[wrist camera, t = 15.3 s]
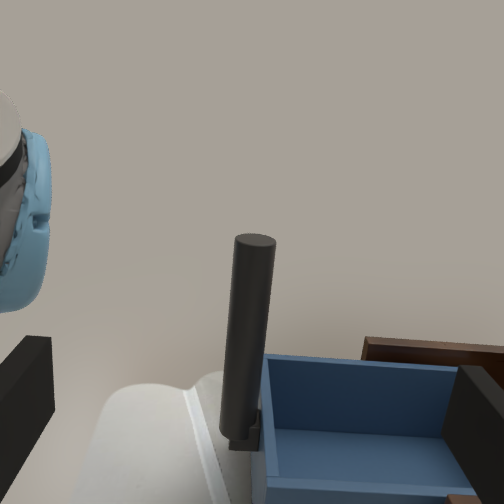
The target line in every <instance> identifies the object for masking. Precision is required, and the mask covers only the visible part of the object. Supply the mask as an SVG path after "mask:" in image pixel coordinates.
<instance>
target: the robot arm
mask: <svg viewBox="0 0 504 504" xmlns="http://www.w3.org/2000/svg"><path fill="white" fill-rule="evenodd" d="M51 187H52V185H51V163H50V155H49V149H48V146H47V143H46V140H45V139H44V138H43V137H42V136H41V135H39V134H37V133H33V132H30V131H28V130H26V129H23V128H21V121H20V116H19V113H18V111H17V109H16V107H15V105H14V103H13V102H12V101H11V100H10V98H9V97H8V96H7V95H6V94H5V93H4V92H3V91H2V90H0V313H5V312H12V311H17V310H20V309H22V308H24V307H26V306H27V305H29V304H30V303H31V302H32V301H33V300H34V299H35V298H36V296H37V295H38V293H39V291H40V289H41V286H42V283H43V279H44V275H45V270H46V264H47V256H48V248H49V236H50V235H49V234H50V229H49V223H48V221H49V219H50V209H51V198H52V197H51V196H52V191H51V190H52V189H51ZM54 412H55V400H54V381H53V362H52V342H51V337H42V336H28V335H27V336H25V337H24V338H23V340H22V341H21V342H20V343H19V344H18V345H17V346H16V347H15V349H14V350H13V351H12V352H11V353H10V354H9V355H8V356H7V357H6V358H5V360H4V361H3V362H2V363H1V364H0V503H1V501H2V500H3V498H4V496H5V494H6V493H7V491H8V489H9V488H10V486H11V484H12V483H13V481H14V479H15V478H16V476H17V474H18V473H19V471H20V469H21V468H22V466H23V464H24V462H25V461H26V459H27V457H28V456H29V454H30V452H31V450H32V449H33V447H34V445H35V444H36V442H37V440H38V439H39V437H40V435H41V433H42V432H43V430H44V428H45V427H46V425H47V423H48V422H49V420H50V418H51V417H52V415H53V413H54ZM440 434H441V436H442V437H443V439H444V441H445V442H446V444H447V446H448V447H449V449H450V451H451V452H452V454H453V456H454V457H455V459H456V461H457V462H458V464H459V466H460V467H461V469H462V471H463V472H464V474H465V476H466V478H467V479H468V481H469V483H470V484H471V486H472V488H473V489H474V491H475V493H476V494H477V496H478V498H479V499H480V501H481V503H482V504H504V391H503V390H502V388H501V387H500V386H499V385H498V384H497V383H496V382H495V381H494V380H493V378H492V377H491V376H490V375H489V374H488V373H487V372H486V371H485V370H484V368H483V367H482V366H471V365H459V366H458V370H457V373H456V377H455V381H454V385H453V388H452V392H451V396H450V400H449V403H448V407H447V411H446V415H445V418H444V422H443V426H442V430H441V433H440Z"/></svg>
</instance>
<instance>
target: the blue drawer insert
mask: <svg viewBox="0 0 504 504" xmlns="http://www.w3.org/2000/svg"><path fill="white" fill-rule="evenodd" d="M275 250H276V240H275V239H273V238H271V237H269V236H266V235H261V234H241V235H238V236H236V237H235V242H234V254H233V267H232V278H231V290H230V302H229V303H230V304H229V315H228V327H227V339H226V351H225V364H224V375H223V387H222V399H221V411H220V423H219V429H220V432H221V434H222V435H223V436H224V437H226V438H227V439H229V450H232V451H250V452H251V482H252V504H444V503H445V499H446V496H447V494H457V495H475V496H477V494H476V493H475V491H474V489H473V488H472V486H471V484H470V483H469V481H468V479H467V478H466V476H465V474H464V472H463V471H462V469H461V467H460V466H459V464H458V462H457V461H456V459H455V457H454V456H453V454H452V452H451V451H450V449H449V447H448V446H447V444H446V442H445V441H444V439H443V437H442V436H441V434H440V433H441V430H442V426H443V422H444V418H445V415H446V411H447V407H448V403H449V400H450V396H451V392H452V388H453V385H454V381H455V377H456V373H457V370H458V367H450V366H436V365H421V364H407V363H392V362H378V361H363V360H348V359H334V358H319V357H305V356H290V355H276V354H264V348H265V339H266V330H267V321H268V312H269V304H270V295H271V285H272V277H273V267H274V259H275Z"/></svg>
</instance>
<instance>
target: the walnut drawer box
mask: <svg viewBox="0 0 504 504" xmlns="http://www.w3.org/2000/svg"><path fill="white" fill-rule="evenodd" d="M361 360H363V361H378V362H392V363H407V364H421V365H436V366H450V367H458V366H459V365H471V366H482V367H483V368H484V370H485V371H486V372H487V373H488V374H489V375H490V376H491V377H492V378H493V380H494V381H495V382H496V383H497V384H498V385H499V386H500V387H501V388H502V390H503V391H504V346H493V345H479V344H465V343H451V342H437V341H422V340H409V339H395V338H381V337H367V336H366V337H365V340H364V345H363V350H362V356H361ZM444 504H482V503H481V501H480V499H479V498H478V496H475V495H457V494H447V496H446V499H445V503H444Z"/></svg>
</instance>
